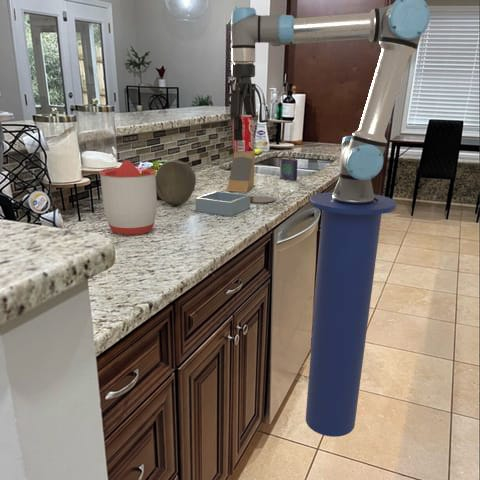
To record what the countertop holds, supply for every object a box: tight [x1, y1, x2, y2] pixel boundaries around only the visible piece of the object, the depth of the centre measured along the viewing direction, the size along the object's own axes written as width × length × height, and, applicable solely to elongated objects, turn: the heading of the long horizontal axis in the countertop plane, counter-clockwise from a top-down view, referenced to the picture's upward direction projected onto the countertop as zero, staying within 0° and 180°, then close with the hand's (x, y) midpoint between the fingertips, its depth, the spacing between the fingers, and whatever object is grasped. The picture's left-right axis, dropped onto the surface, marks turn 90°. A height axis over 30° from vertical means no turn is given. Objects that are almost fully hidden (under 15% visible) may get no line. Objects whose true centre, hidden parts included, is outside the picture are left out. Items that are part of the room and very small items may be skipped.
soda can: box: [232, 114, 255, 154], centre depth 168 cm, size 7×7×12 cm
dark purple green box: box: [279, 154, 299, 182], centre depth 225 cm, size 9×3×11 cm, turn 46°
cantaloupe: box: [155, 160, 197, 207], centre depth 174 cm, size 14×14×15 cm
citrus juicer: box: [98, 159, 158, 236], centre depth 143 cm, size 16×17×20 cm
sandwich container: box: [226, 148, 256, 193], centre depth 203 cm, size 9×15×15 cm, turn 168°
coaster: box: [250, 195, 275, 204], centre depth 186 cm, size 11×11×1 cm
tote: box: [194, 190, 251, 217], centre depth 170 cm, size 14×14×4 cm
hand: (243, 138), depth 169 cm, fingers closed on soda can, 7 cm apart
